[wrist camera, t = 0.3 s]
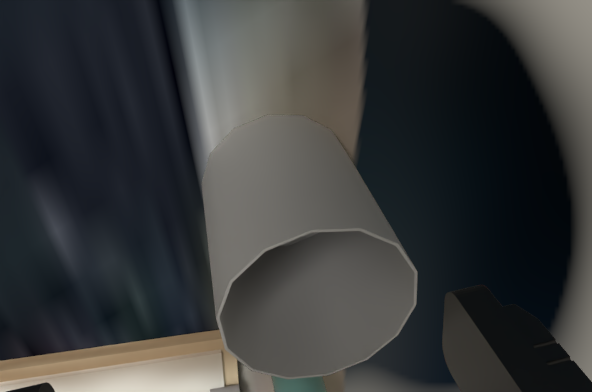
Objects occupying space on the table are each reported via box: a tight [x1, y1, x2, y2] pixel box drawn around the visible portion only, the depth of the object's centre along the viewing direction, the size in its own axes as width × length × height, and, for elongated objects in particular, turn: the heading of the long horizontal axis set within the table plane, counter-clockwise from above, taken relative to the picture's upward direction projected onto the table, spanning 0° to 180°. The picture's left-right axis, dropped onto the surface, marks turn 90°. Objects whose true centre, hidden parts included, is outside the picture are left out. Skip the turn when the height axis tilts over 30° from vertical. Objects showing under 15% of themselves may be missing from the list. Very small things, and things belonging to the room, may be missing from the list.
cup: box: [202, 115, 417, 379], centre depth 25 cm, size 8×8×10 cm
